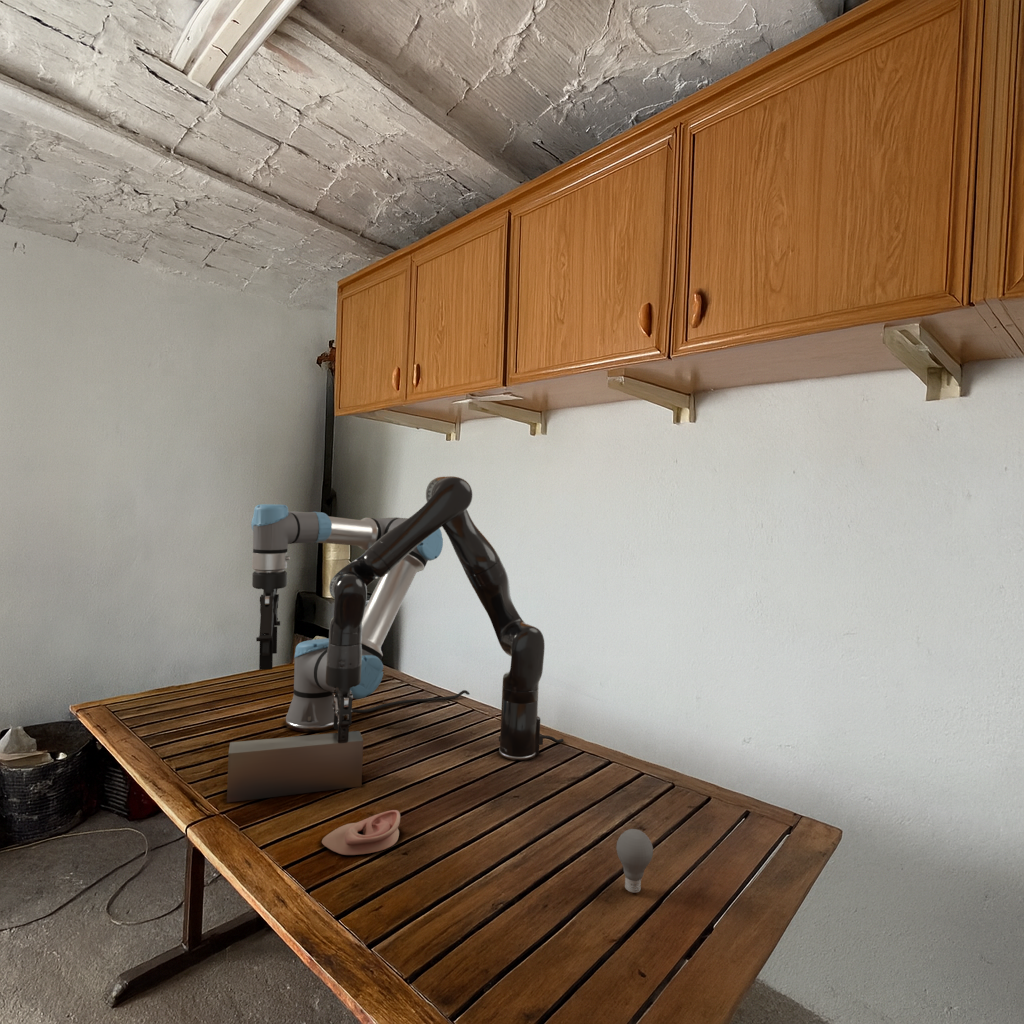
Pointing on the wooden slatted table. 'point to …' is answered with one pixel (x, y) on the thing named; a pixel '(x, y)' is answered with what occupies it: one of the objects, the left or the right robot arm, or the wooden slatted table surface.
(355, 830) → the anatomical model
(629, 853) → the light bulb
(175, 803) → the wooden slatted table surface
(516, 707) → the right robot arm
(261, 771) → the box
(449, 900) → the wooden slatted table surface
